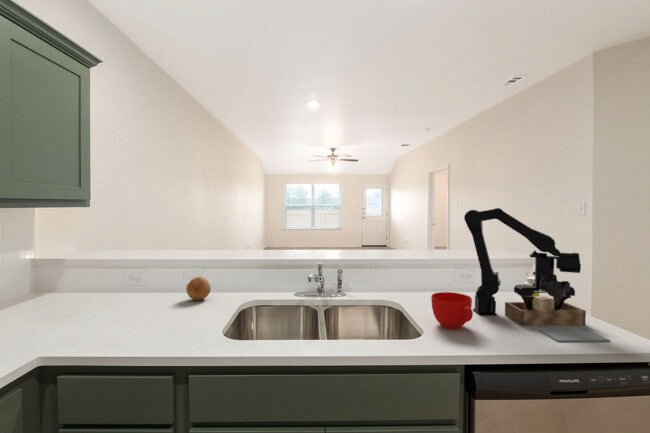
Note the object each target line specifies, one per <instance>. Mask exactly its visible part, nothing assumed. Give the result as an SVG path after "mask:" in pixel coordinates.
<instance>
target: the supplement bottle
mask: <svg viewBox="0 0 650 433" xmlns="http://www.w3.org/2000/svg"><path fill="white" fill-rule="evenodd" d="M533 283H535V276H534V277H533V276H532V277H531V276H528V277H526V281H524V284H523V285H527V286H530V287H534V286H533ZM532 296H533V297H534V296H540V293H534V294H533V295H532ZM532 302H534V299H533V300H532Z"/></svg>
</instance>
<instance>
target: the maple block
mask: <svg viewBox="0 0 650 433" xmlns="http://www.w3.org/2000/svg"><path fill="white" fill-rule="evenodd" d="M534 310H554V299H553V298H551V297H549V296H546V295H545V296H544V295H543V296H542V295H539V296H534Z"/></svg>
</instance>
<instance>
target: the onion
mask: <svg viewBox="0 0 650 433" xmlns="http://www.w3.org/2000/svg"><path fill="white" fill-rule="evenodd" d="M185 289H186V294H187V296H188V297H189V299H192V300H194V301H197V302H198V301H202V300H203V299H206V298H207V297H208V296H209V294H210V293H211V285H210V282H209V281H208V279H206V278H204V277H203V276H201V275H199V276H195V277H194V278H192V279H191V280H190V281H189V282H188V283H187V286H186V288H185Z"/></svg>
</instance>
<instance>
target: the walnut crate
mask: <svg viewBox="0 0 650 433" xmlns="http://www.w3.org/2000/svg"><path fill="white" fill-rule="evenodd" d="M586 313H587V312H586V310H584V309H583V308H580V307H577V306H576V305H573V304H570V303H568V302H566V301H564V303H563V304H562V306H561V309H560V310H534V302H532V310H527V307H526V305H525V303H524V301H516V302H515V301H505V302H504V316H505V317H506V318H509V319H510V320H511V321H513V322H514V323H516V324H518V325H519V326H522V327H523V326H525V327H528V326H529V327H530V326H531V327H533V326H537V327H538V326H586V315H587V314H586Z"/></svg>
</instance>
